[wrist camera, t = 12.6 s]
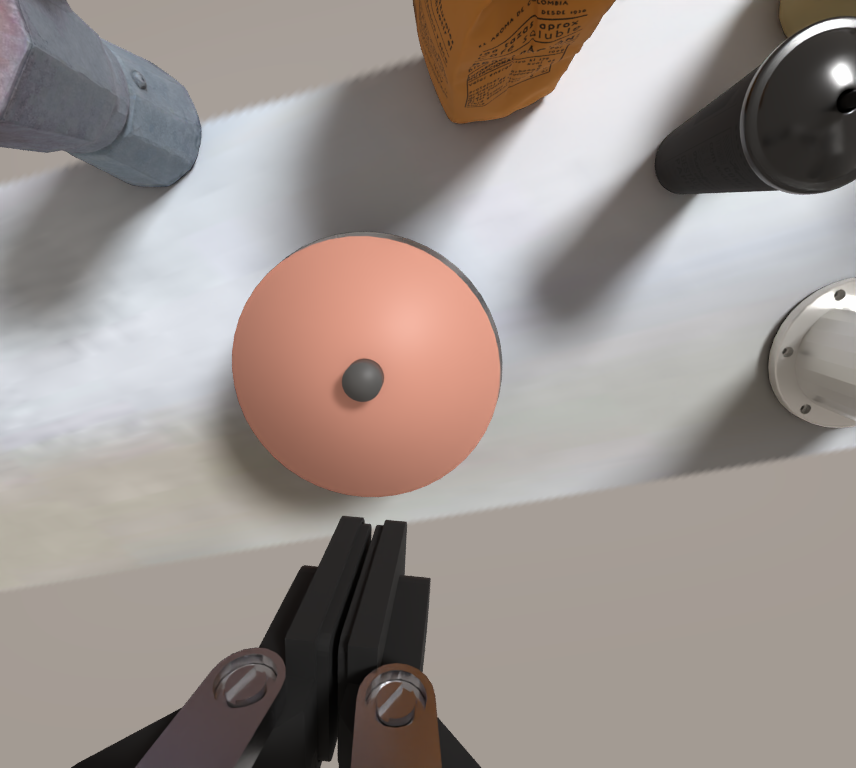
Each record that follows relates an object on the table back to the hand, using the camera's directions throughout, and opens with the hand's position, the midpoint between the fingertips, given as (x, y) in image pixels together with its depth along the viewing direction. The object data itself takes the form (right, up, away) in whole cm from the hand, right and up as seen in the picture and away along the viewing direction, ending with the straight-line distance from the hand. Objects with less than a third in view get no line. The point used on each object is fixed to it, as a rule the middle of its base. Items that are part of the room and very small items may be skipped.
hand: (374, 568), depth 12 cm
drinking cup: (+21, +22, +24) cm, 39 cm away
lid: (-3, +5, +19) cm, 20 cm away
